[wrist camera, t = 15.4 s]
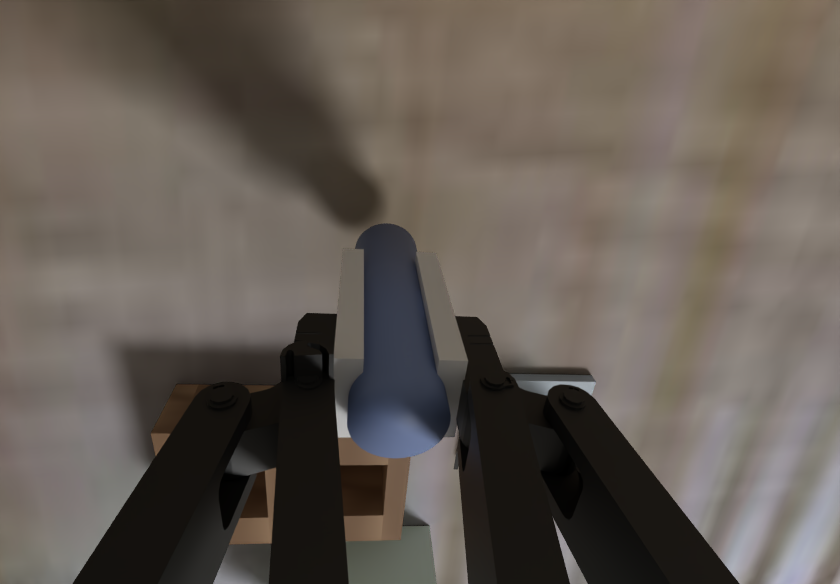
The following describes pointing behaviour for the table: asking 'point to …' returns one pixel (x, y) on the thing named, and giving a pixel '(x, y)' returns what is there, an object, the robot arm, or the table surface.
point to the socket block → (360, 478)
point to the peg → (395, 355)
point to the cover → (393, 559)
